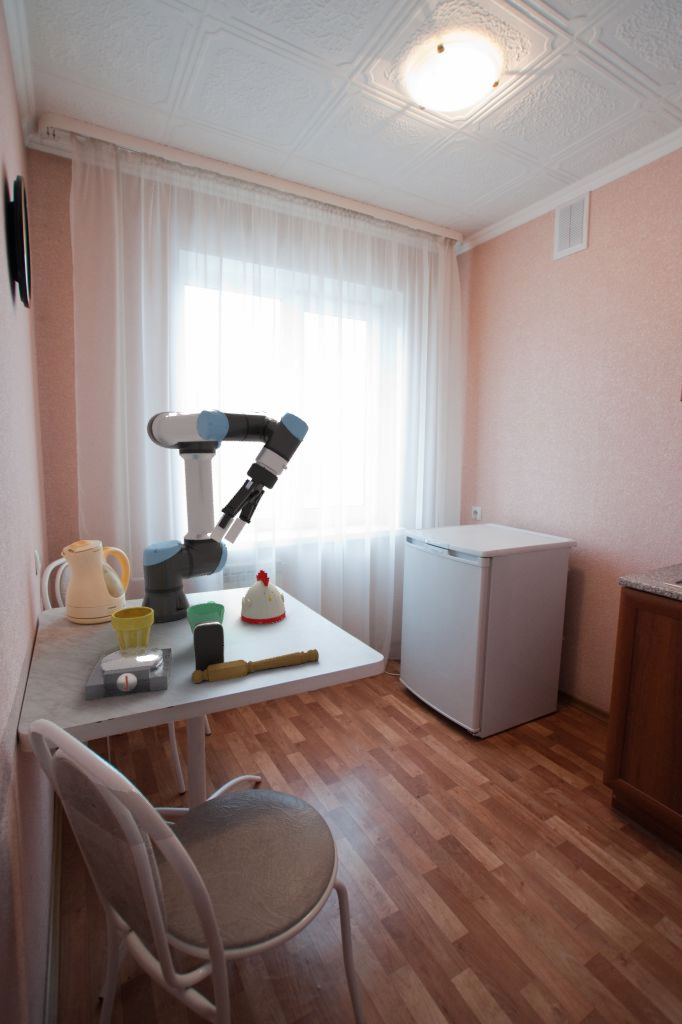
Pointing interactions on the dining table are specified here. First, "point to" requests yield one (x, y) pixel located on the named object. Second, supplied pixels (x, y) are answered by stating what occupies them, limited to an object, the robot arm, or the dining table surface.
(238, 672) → the turned wooden baluster
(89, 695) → the scale
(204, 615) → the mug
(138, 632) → the plant pot
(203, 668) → the battery charger
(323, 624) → the dining table surface
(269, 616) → the kitchen timer
